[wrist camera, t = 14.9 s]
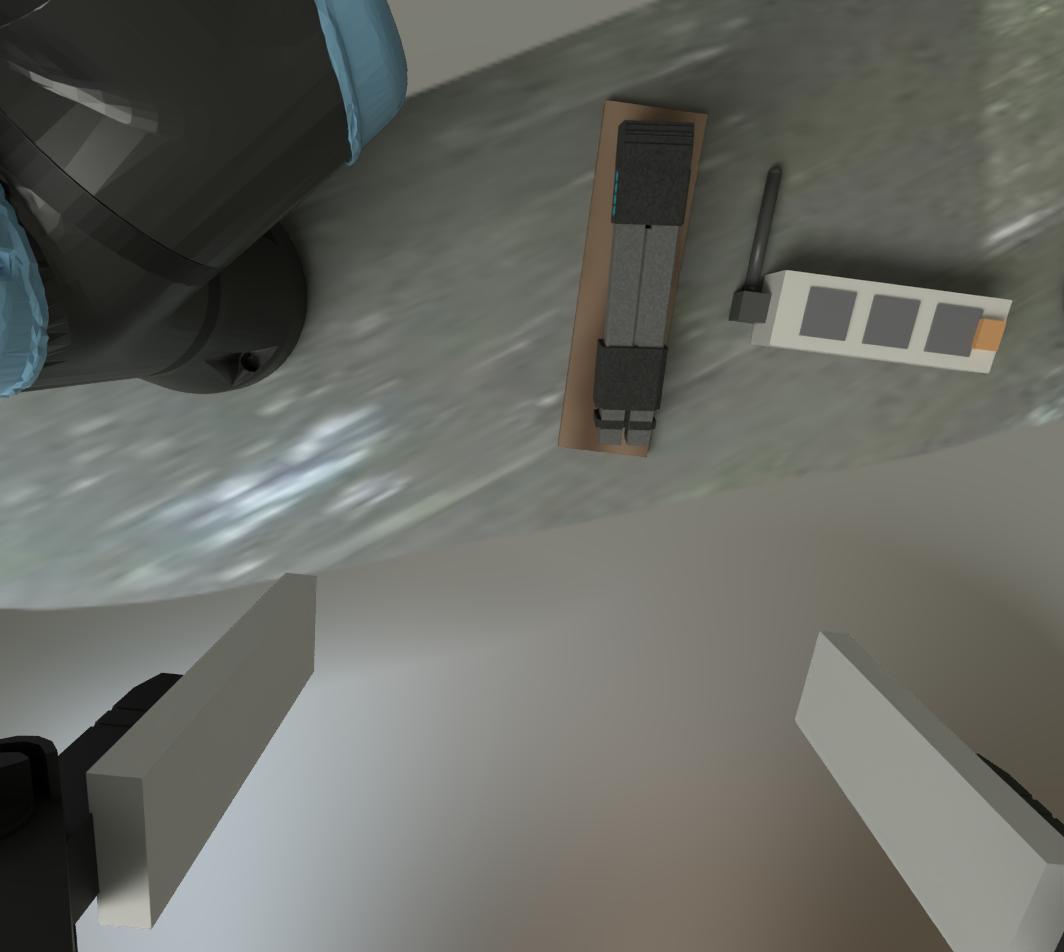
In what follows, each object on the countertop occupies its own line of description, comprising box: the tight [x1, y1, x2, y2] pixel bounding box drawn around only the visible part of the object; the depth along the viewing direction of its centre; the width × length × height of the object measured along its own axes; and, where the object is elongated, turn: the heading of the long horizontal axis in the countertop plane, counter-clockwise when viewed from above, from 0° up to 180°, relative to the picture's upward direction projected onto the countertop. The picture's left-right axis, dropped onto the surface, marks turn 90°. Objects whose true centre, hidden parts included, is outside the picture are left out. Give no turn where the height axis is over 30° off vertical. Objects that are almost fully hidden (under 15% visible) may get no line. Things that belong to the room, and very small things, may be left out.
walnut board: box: [558, 100, 708, 457], centre depth 41 cm, size 7×24×1 cm, turn 173°
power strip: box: [729, 167, 1012, 373], centre depth 39 cm, size 18×12×4 cm, turn 83°
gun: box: [593, 120, 695, 446], centre depth 39 cm, size 4×20×10 cm, turn 178°
